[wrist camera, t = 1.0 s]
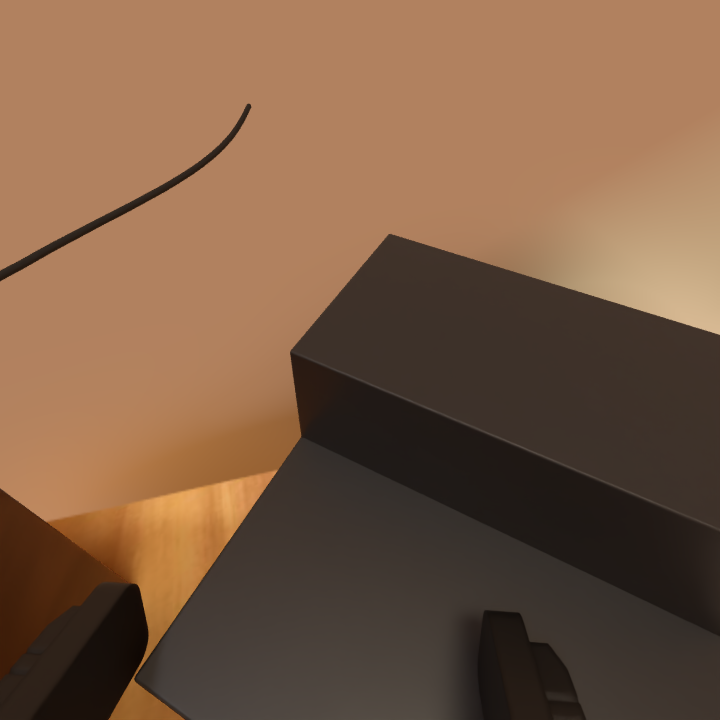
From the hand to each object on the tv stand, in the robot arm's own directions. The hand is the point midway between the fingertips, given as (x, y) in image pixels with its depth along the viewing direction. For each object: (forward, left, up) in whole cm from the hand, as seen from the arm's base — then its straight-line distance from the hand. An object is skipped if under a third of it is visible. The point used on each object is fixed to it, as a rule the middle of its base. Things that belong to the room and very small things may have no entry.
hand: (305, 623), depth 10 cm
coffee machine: (-1, +4, -20) cm, 21 cm away
